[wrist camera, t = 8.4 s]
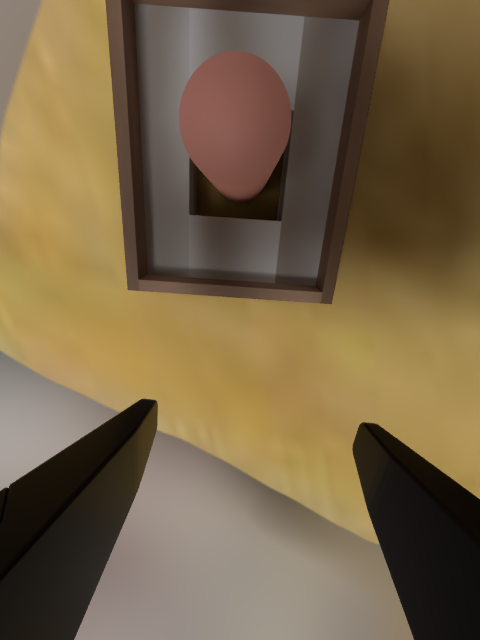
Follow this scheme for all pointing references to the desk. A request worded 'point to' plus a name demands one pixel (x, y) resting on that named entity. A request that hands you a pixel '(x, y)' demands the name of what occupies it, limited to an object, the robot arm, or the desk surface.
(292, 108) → the square frame
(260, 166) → the peg
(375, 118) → the desk surface
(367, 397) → the desk surface
